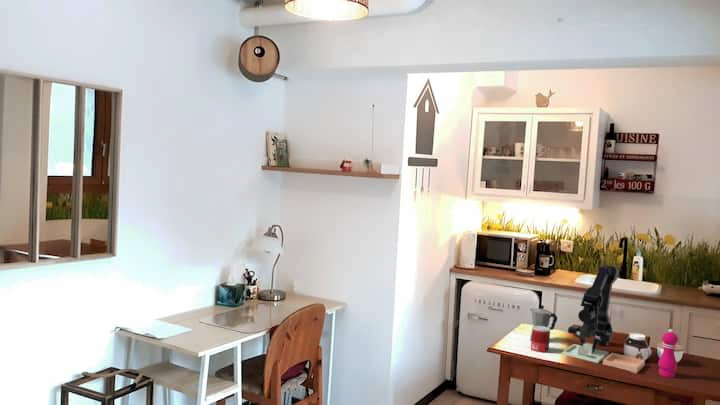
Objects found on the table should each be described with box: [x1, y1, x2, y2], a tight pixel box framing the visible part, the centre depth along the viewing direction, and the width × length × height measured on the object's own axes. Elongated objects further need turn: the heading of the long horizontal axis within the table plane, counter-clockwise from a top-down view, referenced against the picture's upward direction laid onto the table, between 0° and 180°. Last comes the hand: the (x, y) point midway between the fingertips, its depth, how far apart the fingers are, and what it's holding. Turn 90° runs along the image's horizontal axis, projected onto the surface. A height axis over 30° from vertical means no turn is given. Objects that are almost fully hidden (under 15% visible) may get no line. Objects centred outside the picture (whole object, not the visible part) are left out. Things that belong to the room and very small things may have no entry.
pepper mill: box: [657, 328, 679, 378], centre depth 255 cm, size 7×7×20 cm
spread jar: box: [623, 332, 652, 361], centre depth 275 cm, size 12×11×12 cm
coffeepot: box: [529, 305, 558, 341], centre depth 294 cm, size 15×9×18 cm, turn 37°
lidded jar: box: [656, 341, 685, 363], centre depth 273 cm, size 11×11×9 cm
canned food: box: [530, 325, 551, 353], centre depth 279 cm, size 8×8×11 cm
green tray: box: [561, 344, 610, 364], centre depth 276 cm, size 16×16×2 cm
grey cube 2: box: [578, 345, 589, 357], centre depth 273 cm, size 4×4×4 cm
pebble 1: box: [583, 341, 594, 354], centre depth 279 cm, size 4×4×4 cm
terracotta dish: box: [602, 352, 646, 375], centre depth 265 cm, size 14×14×2 cm
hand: (588, 351), depth 279 cm, fingers closed on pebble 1, 4 cm apart
